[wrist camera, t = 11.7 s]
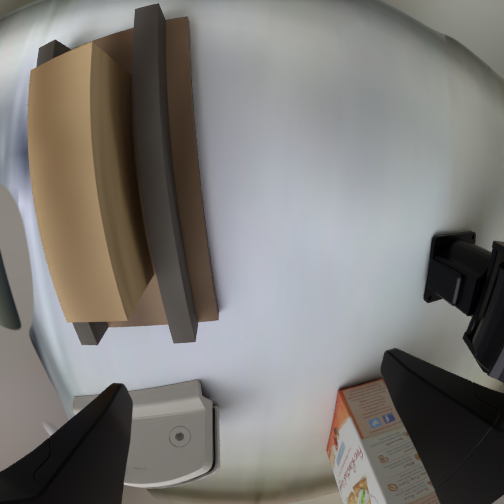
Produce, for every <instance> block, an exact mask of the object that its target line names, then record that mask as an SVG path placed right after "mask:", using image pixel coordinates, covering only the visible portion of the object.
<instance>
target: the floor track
mask: <svg viewBox="0 0 504 504" xmlns="http://www.w3.org/2000/svg"><path fill="white" fill-rule="evenodd" d="M92 42H94V43H95V44H96V45H97V46H98V47H99V48H101V49H102V50H103V51H104V52H105V53H106V54H108V55H109V56H110V57H111V58H112V59H113V60H114V61H116V62H117V63H118V64H119V65H120V66H121V67H122V68H124V69H125V70H126V71H127V72H128V73H129V74H130V102H131V122H132V136H133V147H134V157H135V167H136V175H137V183H138V191H139V198H140V204H141V211H142V217H143V223H144V229H145V234H146V240H147V245H148V250H149V255H150V260H151V264H152V269H153V274H154V276H153V278H152V279H151V281H150V283H149V284H148V286H147V288H146V289H145V291H144V293H143V294H142V296H141V298H140V300H139V301H138V303H137V305H136V307H135V308H134V310H133V312H132V314H131V315H130V317H129V319H128V321H108V322H72V323H73V325H74V328H75V330H76V333H77V335H78V337H79V340H80V342H81V344H82V345H98V344H99V342H100V340H101V339H102V337H103V335H104V334H105V332H106V330H107V329H108V327H130V326H150V325H167V324H168V325H169V329H170V332H171V336H172V339H173V343H188V342H196V334H197V328H198V322H205V321H215V320H218V318H219V312H218V306H217V300H216V294H215V288H214V281H213V275H212V268H211V261H210V254H209V247H208V240H207V232H206V224H205V217H204V208H203V200H202V192H201V183H200V174H199V164H198V154H197V144H196V133H195V121H194V108H193V95H192V79H191V62H190V39H189V21H188V17H181V18H175V19H170V20H165V17H164V15H163V13H162V10H161V8H160V6H159V3H158V4H154V5H150V6H145V7H142V8H138V9H135V18H134V28H132V29H128V30H125V31H121V32H118V33H115V34H112V35H109V36H106V37H103V38H100V39H97V40H94V41H92ZM89 43H90V42H89ZM87 44H88V43H87ZM84 45H85V44H84ZM82 46H83V45H82ZM79 47H80V46H79ZM77 48H78V47H77ZM74 49H75V48H74ZM72 50H73V49H72ZM68 51H71V49H69V48H68V47H66V46H65V45H63V44H62V43H60V42H58V41H57V40H54V41H52V42H50V43H48V44H46V45H44V46H42V47H40V48H39V52H38V59H37V67H38V66H40V65H42V64H44V63H45V62H47V61H49V60H51V59H53V58H55V57H58V56H60V55H62V54H64V53H66V52H68Z"/></svg>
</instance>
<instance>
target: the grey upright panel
mask: <svg viewBox="0 0 504 504" xmlns="http://www.w3.org/2000/svg"><path fill="white" fill-rule="evenodd" d="M128 392H129V394H130V396H131V398H132V401H133V412H132V425H131V440H130V447H129V453H128V459H127V465H126V471H125V478H124V485H129V486H134V487H140V488H167V487H174V486H180V485H183V484H187V483H191V482H194V481H197V480H200V479H202V478H205V477H207V476H209V475H211V474H213V473H215V472H217V471H218V469H219V468H220V440H219V408H218V406H212V402H213V401H211V400H209V399H207V398H205V397H204V396H202V392H201V382H200V381H199V380H198V379H197V380H192V381H187V382H182V383H177V384H172V385H166V386H161V387H155V388H148V389H142V390H135V391H128ZM97 396H98V395H89V396H75V397H74V401H73V412H74V414H75V415H76V414H77V413H78V412H80V411H81V410H82V409H83V408H84V407H85V406H87V405H88V404H89V403H90V402H91V401H92V400H94V399H95V398H96V397H97Z"/></svg>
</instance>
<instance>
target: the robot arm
mask: <svg viewBox="0 0 504 504" xmlns="http://www.w3.org/2000/svg"><path fill="white" fill-rule="evenodd" d="M475 238H476V234H475V232H472V231H469V232H461V233H453V234H445V235H437V236H434V237H433V239H432V244H431V253H430V261H429V269H428V275H427V282H426V288H425V293H424V301H426V302H427V303H430V302H433V301H437V300H440V299H444V300H445V301H447V302H448V303H449V304H451V305H452V306H455V307H456V308H458V309H459V310H460V311H462V312H463V313H464V314H466V315H467V316H471V317H472V318H471V321H470V323H469V326H468V328H467V331H466V332H465V333H464V336H463V340H464V341H465V343H466V344H467V346H468V348H469V349H470V351H471V352H472V354H473V356H474V357H475V359H476V361H477V363H478V364H479V366H480V367H481V369H482V370H483V372H485V373H487V375H488V376H490V377H493V378H495V379H498V380H499V381H501V382H503V383H504V242H500V241H493V245H492V248H493V249H492V252H490V251H488V250H486V249H483V248H481V247H479V246H477V245H475ZM436 242H437V243H436ZM428 297H429V298H428ZM381 374H382V377H383V379H384V382H385V384H386V387H387V389H388V392H389V395H390V397H391V400H392V402H393V405H394V407H395V409H396V411H397V413H398V415H399V417H400V419H401V421H402V423H403V425H404V427H405V429H406V431H407V433H408V435H409V437H410V439H411V441H412V443H413V445H414V447H415V449H416V451H417V453H418V455H419V457H420V459H421V462H422V464H423V466H424V468H425V470H426V472H427V474H428V477H429V479H430V481H431V483H432V486H433V488H434V490H435V493H436V495H437V497H438V500H439V502H440V504H504V393H501V392H497V391H494V390H491V389H489V388H486V387H484V386H481V385H479V384H476V383H474V382H473V383H472V382H471V381H469V380H467V379H464V378H462V377H460V376H457V375H455V374H453V373H451V372H448V371H446V370H444V369H441V368H439V367H437V366H435V365H432V364H430V363H428V362H426V361H423V360H421V359H419V358H417V357H415V356H412V355H410V354H408V353H406V352H404V351H401V350H399V349H397V348H393V349H390V350H387V351H385V353H384V356H383V361H382V365H381ZM132 412H133V401H132V398H131V396H130V394H129V392H128V390H127V388H126V387H125V385H124V384H122V383H113V384H111V385H110V386H109V387H108V388H106V389H105V390H104V391H103V392H102V393H101V394H99V395H98V396H97V397H96V398H95V399H94V400H92V401H91V402H90V403H89V404H88V405H87V406H85V407H84V408H83V409H82V410H81V411H80V412H78V413H77V414H76V415H75V416H74V417H73V418H71V419H70V420H69V421H68V422H67V423H66V424H64V425H63V426H62V427H61V428H60V429H59V430H57V431H56V432H55V433H54V434H53V435H51V436H50V438H48V439H47V440H45V441H44V442H43V443H42V444H41V445H39V446H38V447H37V448H36V449H34V450H33V451H32V452H30V453H29V454H27V455H26V456H25V457H23V458H22V459H20V460H19V461H17V462H16V463H14V464H13V465H11V466H9V467H8V468H6V469H5V470H3V471H1V472H0V504H121V502H122V494H123V486H124V478H125V471H126V465H127V459H128V453H129V447H130V440H131V425H132Z"/></svg>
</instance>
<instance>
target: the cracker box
mask: <svg viewBox="0 0 504 504" xmlns="http://www.w3.org/2000/svg"><path fill="white" fill-rule="evenodd" d="M327 454H328V457H329V460H330V463H331V466H332V469H333V473H334V476H335V479H336V482H337V485H338V488H339V491H340V494H341V498H342V501H343V504H440V502H439V500H438V497H437V495H436V493H435V490H434V488H433V486H432V483H431V481H430V479H429V477H428V474H427V472H426V470H425V468H424V466H423V464H422V462H421V459H420V457H419V455H418V453H417V451H416V449H415V447H414V445H413V443H412V441H411V439H410V437H409V435H408V433H407V431H406V429H405V427H404V425H403V423H402V421H401V419H400V417H399V415H398V413H397V411H396V409H395V407H394V405H393V402H392V400H391V397H390V395H389V392H388V389H387V387H386V384H385V382H384V379H383V378H381V379H378V380H375V381H372V382H368V383H365V384H361V385H358V386H354V387H350V388H346V389H342V390H339V391H338V396H337V402H336V408H335V413H334V419H333V424H332V429H331V433H330V438H329V443H328V447H327Z"/></svg>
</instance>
